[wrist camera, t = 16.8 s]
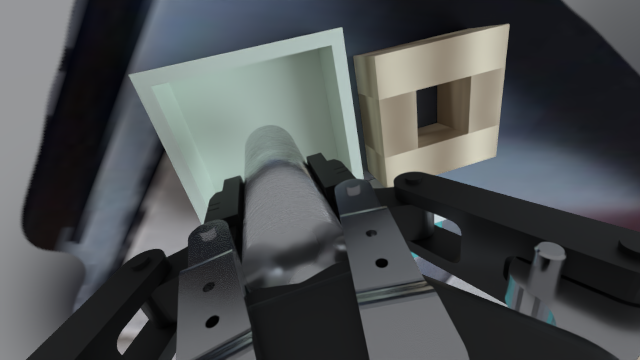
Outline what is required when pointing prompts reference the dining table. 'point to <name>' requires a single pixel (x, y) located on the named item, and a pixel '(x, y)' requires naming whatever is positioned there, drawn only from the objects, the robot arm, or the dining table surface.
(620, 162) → the dining table surface
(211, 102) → the tray
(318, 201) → the steel dowel
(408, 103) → the socket block
